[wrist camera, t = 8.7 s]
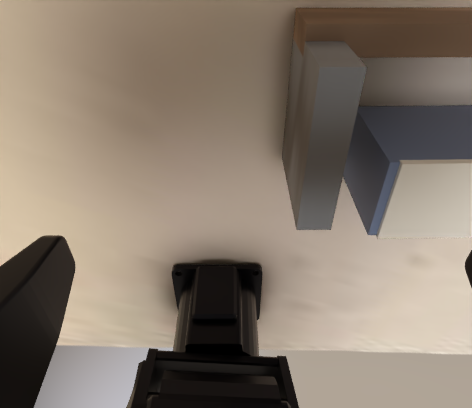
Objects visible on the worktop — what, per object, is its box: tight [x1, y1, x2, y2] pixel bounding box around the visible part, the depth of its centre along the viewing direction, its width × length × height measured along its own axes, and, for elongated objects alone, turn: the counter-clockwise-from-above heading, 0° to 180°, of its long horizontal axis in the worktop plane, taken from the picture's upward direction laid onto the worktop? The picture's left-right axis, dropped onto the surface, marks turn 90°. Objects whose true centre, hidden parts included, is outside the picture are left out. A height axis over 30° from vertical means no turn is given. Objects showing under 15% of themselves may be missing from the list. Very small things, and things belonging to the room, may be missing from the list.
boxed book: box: [343, 105, 472, 239], centre depth 18 cm, size 4×8×6 cm, turn 90°
